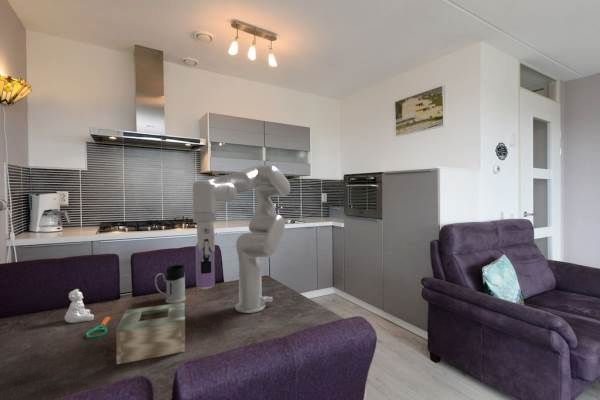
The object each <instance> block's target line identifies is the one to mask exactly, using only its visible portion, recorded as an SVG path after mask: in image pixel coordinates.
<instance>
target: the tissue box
mask: <svg viewBox="0 0 600 400" xmlns="http://www.w3.org/2000/svg"><path fill="white" fill-rule="evenodd" d="M185 305H186V304H185V301H183V302H178V303H167V304H163V305H155V306H153V305H152V306H147V307H146V306H145V307H138V308H131V309H126V310H125V312H124V313H123V316H122V317H121V319H120V321H119V324H118V325H117V327H116V329H115V331H116V332H115V333H116V340H115V341H116V344H115V345H116V347H115V348H116V365H120V364H126V363H131V362H136V361H137V362H138V361H143V360H147V359H153V358H160V357H162V356H163V357H164V356H168V355H174V354H179V353H184V352H186V314H185V313H186V312H185V311H186V310H185V309H186V306H185Z"/></svg>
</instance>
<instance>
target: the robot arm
mask: <svg viewBox="0 0 600 400" xmlns="http://www.w3.org/2000/svg"><path fill="white" fill-rule="evenodd" d="M253 189H255V193H256V199H257V206H256V208H255V211H254V213H253V215H252V217H251V219H250V221H249V225H248V231H249V232H250V233H249V232H247V233H242V234H240V235H239V236H238V238H237V239H236V242H235V243H236V244H235V246H236V252H237V258H238V302H237V303H236V304H235V308H234V309H235V310H236V312H239V313H243V314H253V313H258V312H260V311H263V310H264V309H265V308H266V303H268V302H270V303H271V302H273V301H274V298H273V296H268V295H265V296H263V295H262V294H263V293H262V292H263V291H262V290H263V289H262V288H263V287H262V285H263V284H262V277H263V275H262V273H263V272H262V269H263V268H262V263H261V260H260V258H265V259H267V258H268V259H269V258H272V257H273V256H274V255H275V254H276V253H277V251H278V250H277V249H278V248H279V244H280V242H281V240H282V237H283V234H284V231H285V219H284V217H283V216H282V215H280V214H276V213H275V212H276V208H275V207H276V206H275V204H274V202H273V201H272V199H271V198H276V197H277V198H281V197H282V198H283V197H286V196H288V195H289V194H290V193H291V184H290V181H289V180H288V179H287V177H286V176H285V175H284V174H283V173H282V171H281V170H280V169H278V168H277V167H276V166H274V165H271V164H269V165H253V166H250V167H249V168H245V169H242V170H241V171H238V172H234V173H233V172H232V173H229V174H226V175H221V176H217V177H213V178H210V179H207V180H197V181H194V182H193V184H192V216H193V217H192V222H193V223H196V235H197V237H196V238H197V239H196V240H197V242H198V247H199V252H201V255H202V261H201V274H206V273H211V257H210V249H211V251H212V252H214V253H215V251H216V249H215V248H216V246H215V226H214V225H215V224H214V223H216V222H217V203H230V202H232V200H234V199H235V198H236V196H237V194H241V193H246V192H248V191H250V190H253ZM203 250H205V252H203ZM203 254H204V255H203ZM203 257H204V258H203Z"/></svg>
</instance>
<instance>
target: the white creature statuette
mask: <svg viewBox="0 0 600 400" xmlns="http://www.w3.org/2000/svg"><path fill="white" fill-rule="evenodd" d="M68 298H69V300H70V301H71V303H70V305H69V307H68V310H67V311H66V313H65V315H64V317H63V318H64V321H65V322H66V323H70V324H76V323H82V322H91V321H93V320H94V317H95V315H94V314H92V313H91V309H87V308H85V304H84V302H83V299H84V296H83V292H81V291H80V289H79V288H75V289H73V290H72V291H70V292H69V293H68Z"/></svg>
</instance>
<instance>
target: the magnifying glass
mask: <svg viewBox="0 0 600 400" xmlns="http://www.w3.org/2000/svg"><path fill="white" fill-rule="evenodd" d="M110 320H111V317H110V316H105V317H104V319H103V320H102V321H101V322H100V324H98V326H96V327H94V328H91V330H89V331H87V332H86V334H85V338H86V339H89V340H94V339H97V338H101V337H104V336H105V335H106V334H107V333H108V327H107V325H108V323H109V322H110ZM96 332H102V333H100V334H97V335H91V334H94V333H96Z"/></svg>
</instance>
